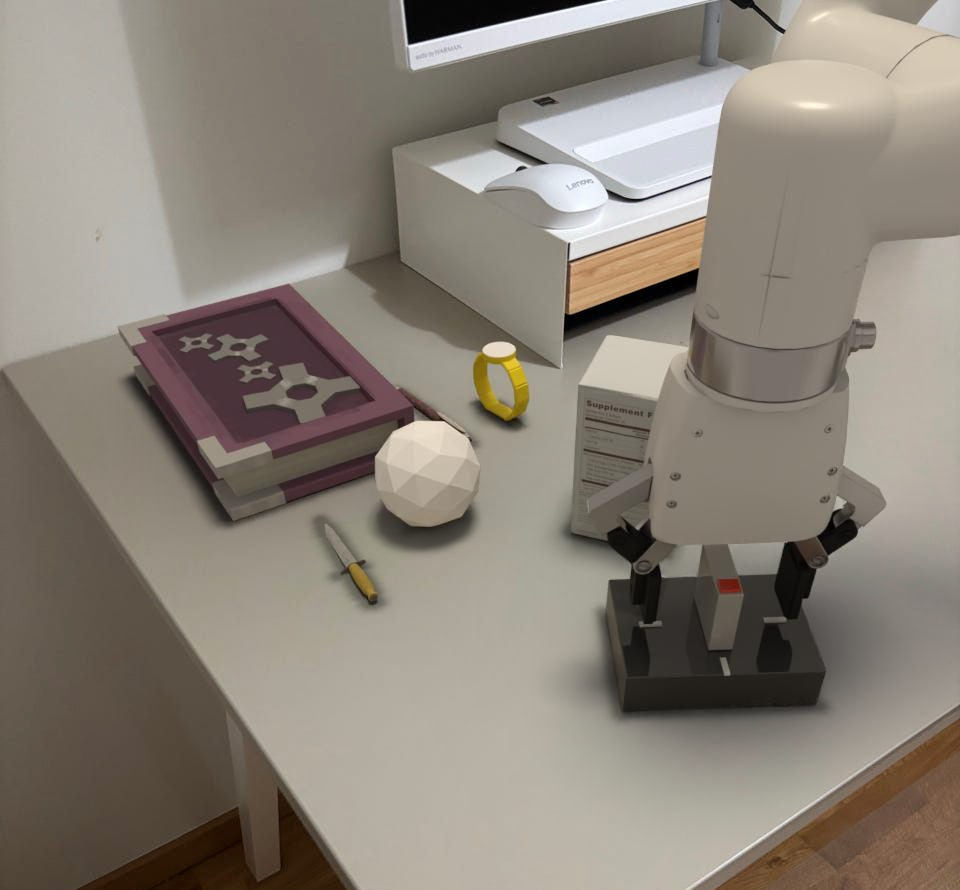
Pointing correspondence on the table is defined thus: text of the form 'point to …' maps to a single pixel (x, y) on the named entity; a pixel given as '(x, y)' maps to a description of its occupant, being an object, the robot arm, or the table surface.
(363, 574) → the dagger
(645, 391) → the white packaging box
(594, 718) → the table surface
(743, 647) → the panel
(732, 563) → the box with red button
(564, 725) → the table surface
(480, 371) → the watch
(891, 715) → the table surface
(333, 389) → the book
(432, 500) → the ball
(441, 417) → the pen
